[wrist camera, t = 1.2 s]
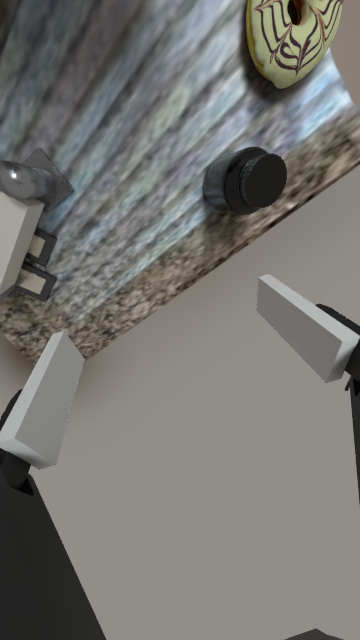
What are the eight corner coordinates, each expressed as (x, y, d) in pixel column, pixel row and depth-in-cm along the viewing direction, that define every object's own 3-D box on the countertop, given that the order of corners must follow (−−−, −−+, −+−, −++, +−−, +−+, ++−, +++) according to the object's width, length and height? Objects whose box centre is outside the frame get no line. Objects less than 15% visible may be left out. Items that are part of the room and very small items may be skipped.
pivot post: (14, 176, 26) (-35, 170, 18) (41, 149, 25) (1, 132, 18) (48, 212, 28) (18, 220, 21) (74, 189, 28) (52, 189, 20)
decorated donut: (276, 114, 28) (294, 104, 24) (221, 33, 23) (234, 9, 20) (341, 16, 24) (372, -10, 21) (291, -105, 19) (321, -162, 16)
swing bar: (20, 189, 25) (-2, 189, 21) (46, 205, 26) (30, 208, 22) (-11, 286, 30) (-34, 301, 26) (12, 295, 32) (-6, 311, 28)
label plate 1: (-8, 239, 29) (-10, 240, 28) (2, 207, 27) (-1, 207, 27) (45, 265, 32) (43, 266, 32) (57, 238, 30) (55, 239, 30)
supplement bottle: (222, 219, 33) (259, 232, 24) (193, 188, 30) (221, 188, 20) (253, 181, 31) (307, 177, 21) (224, 143, 28) (273, 118, 18)
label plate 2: (-2, 279, 32) (-5, 281, 31) (7, 253, 30) (4, 254, 30) (46, 300, 35) (44, 301, 35) (56, 277, 33) (55, 278, 33)
